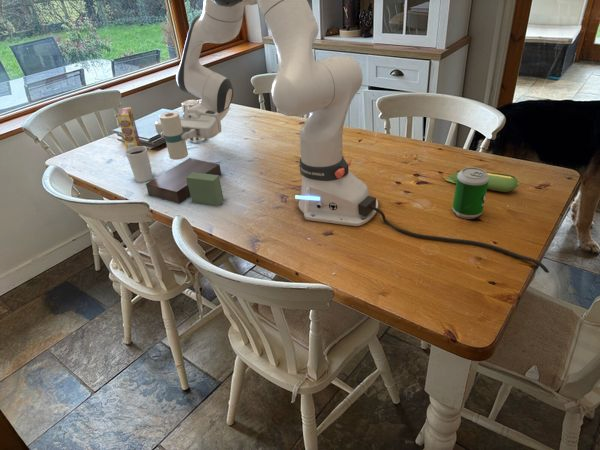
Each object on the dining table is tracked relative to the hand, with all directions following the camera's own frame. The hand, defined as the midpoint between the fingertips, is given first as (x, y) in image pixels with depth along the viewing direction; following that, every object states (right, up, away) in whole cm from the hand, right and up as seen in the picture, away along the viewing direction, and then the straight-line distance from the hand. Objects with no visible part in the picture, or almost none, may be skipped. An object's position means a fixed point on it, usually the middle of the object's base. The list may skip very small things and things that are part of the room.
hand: (172, 137), depth 129 cm
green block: (+11, -19, 0) cm, 22 cm away
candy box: (-25, +2, +37) cm, 45 cm away
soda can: (+82, -23, -15) cm, 87 cm away
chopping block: (+1, -13, +10) cm, 17 cm away
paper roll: (-1, -6, 0) cm, 6 cm away
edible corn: (+90, -15, -3) cm, 91 cm away
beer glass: (-2, +7, +42) cm, 42 cm away
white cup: (-14, -11, +16) cm, 24 cm away
